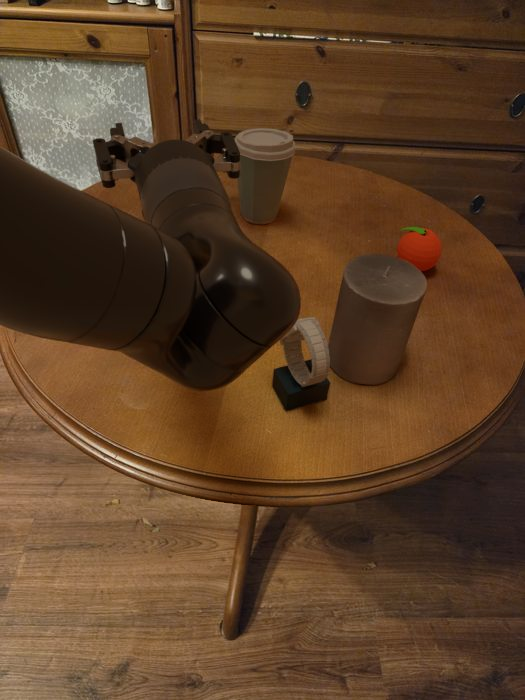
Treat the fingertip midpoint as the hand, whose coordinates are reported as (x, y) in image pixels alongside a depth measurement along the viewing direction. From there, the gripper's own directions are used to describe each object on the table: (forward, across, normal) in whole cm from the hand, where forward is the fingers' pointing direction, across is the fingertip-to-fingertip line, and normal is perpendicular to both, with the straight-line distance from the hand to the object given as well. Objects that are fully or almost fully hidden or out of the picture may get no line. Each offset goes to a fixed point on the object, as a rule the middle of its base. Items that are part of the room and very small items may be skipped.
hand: (158, 129), depth 55 cm
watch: (-21, -12, +25) cm, 35 cm away
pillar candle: (-17, -22, +25) cm, 38 cm away
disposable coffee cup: (+22, -20, +25) cm, 39 cm away
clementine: (+1, -40, +25) cm, 47 cm away
